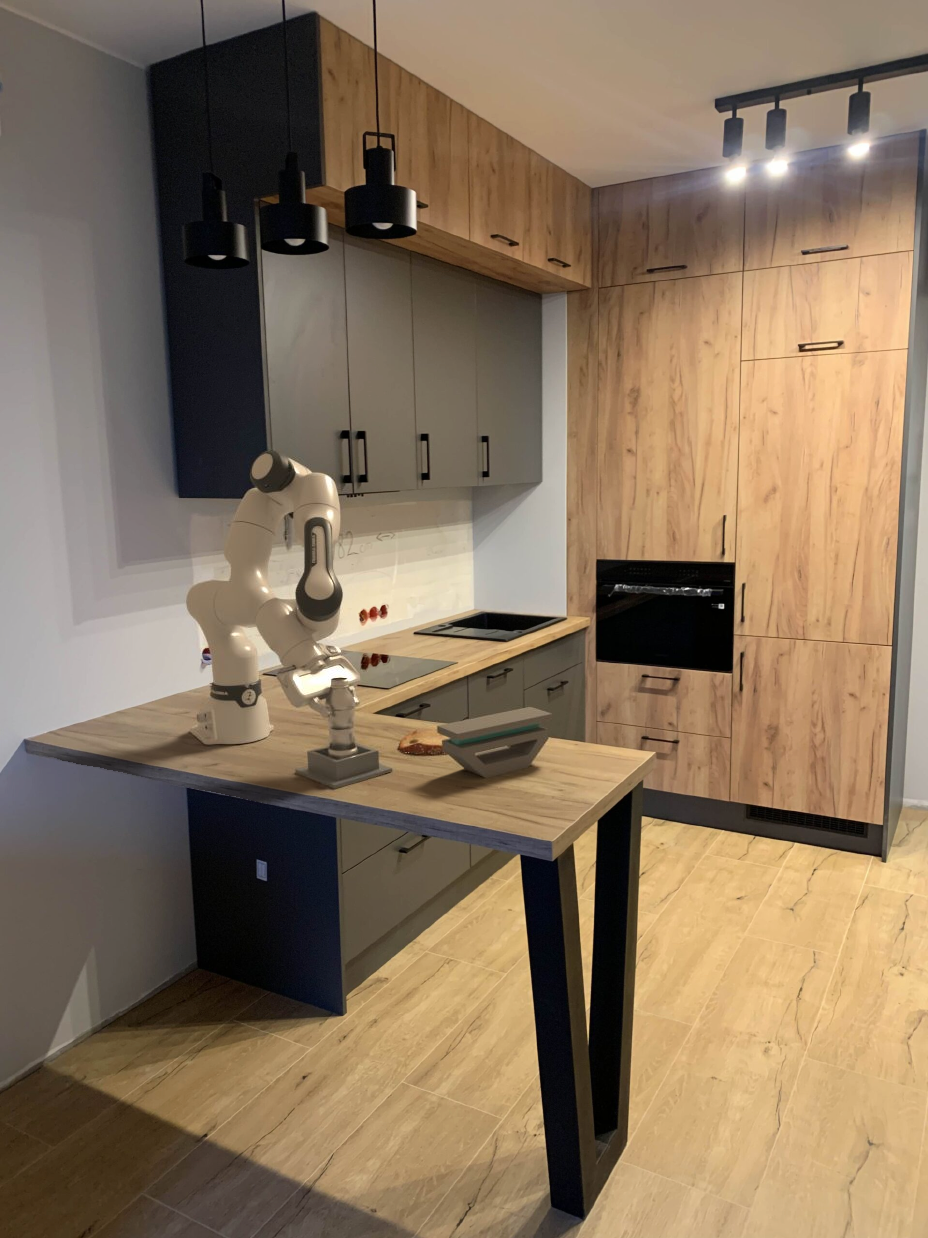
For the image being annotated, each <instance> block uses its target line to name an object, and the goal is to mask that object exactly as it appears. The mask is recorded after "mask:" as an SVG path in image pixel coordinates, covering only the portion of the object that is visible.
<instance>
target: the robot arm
mask: <svg viewBox="0 0 928 1238" xmlns="http://www.w3.org/2000/svg"><path fill="white" fill-rule="evenodd" d="M249 478H250V481H251V483H252V484H253V486H254V487H253V488H251V489H248V490H247V491H246V493H245V494H244V496H243V498H242V499H241V502H240V503H239V504H238V508H237V510H236V512H235V515H234V518H233V520H232V523H231V525H230V530H229V532H228V536H227V538H226V541H225V545H224V548H223V555H224V558H225V560H226V561H227V562H228V563H229V565H230V575H229V579H228V580H220V579H219V580H218V579H212V580H211V579H210V580H205V581H202V582H197V583H196V584H194V585H192V587H191V588H190V589H189V591H188V593H187V594H186V603H185V605H186V610H187V612H188V614H189V615H190V616H191V617H192V619H194V620H195V621H196V622H197V624H198V625H199V627H200V628H201V631H202V633H203V635H204V637H205V640H206V643H207V645H208V646H207V647H208V649H209V654H210V661H211V671H212V682H209V685H210V686H209V688H210V689H209V690H210V694H209V696H210V697H209V698H208V699H207V701H206V702H205V703H204V704H203V705H201V707H200V708H199V711H198V713H197V714H196V719H197V722H198V724H195V725H192V726H191V727H190V729H189V732H190V733H191V734H192V735H193V736H195V737H196V738H197V739H198V740H199V741H200V742H201V743H203V744H204V745H237V744H238V745H239V744H248V743H252V742H257V741H259V740H263V739H266V738H267V737H268V736H269V735H270V732H272V731H273V730H275V727H274V726H275V725H273V724H271V723H270V717H269V710H268V704H267V700H266V698H265V697H263V696H262V695H261V694H263V693H262V692H263V691H262V690H263V689H262V687H263V686H262V679H261V678H260V673H259V672H260V671H259V657H258V655H259V653H258V650H257V647H256V645H255V644H254V643H253V642H252V641H251V640H250V639H249V638H248V637H247V634H246V633H245V631H244V628H251V629H252V628H256V629H257V631H258V633H259V634H260V636H261V637H262V639H263V641H264V643H266V645H267V647H268V648H269V649H270V650H271V651H272V652H274V653H275V654H276V655H277V656H278V659H279V662H280V663H281V665H282V668H280V669H278V670H277V672H276V680H277V681H278V682H279V684H280V686H281V689H282V690H283V692H284V694H285V696H286V698H287V700H288V701H289V703H290V704H291V705H292V706H293V707H295V708H298V709H299V708H302V707H305V706H309V708H310V709H312V710H313V711H315V712H317V713H319V715H321V717H322V718H323V719H327V717H330V715H331V714H332V711H331V710H330V708H329V707H328V706H327V707H325V704H323V703H321V702H320V701H322V700H326V698H327V696H328V695H329V693H330V692H331V690H332V688H330V685H331V681H330V680H331V679H332V678H336V677H346V678H348V684H349V687H348V688H347V689H348V691H349V692H350V693H351V694H352V696H353V697H354V699H355V708H357V707H358V706H359V705H360V704H361V700H359V698H358V696H357V693H356V689H355V688H356V687H357V686H358V685H359V683H361V676H360V673H359V671H357V669H356V668H355V667H354V665H353V664H352V663H351V662H350V661H349V659H347V658H346V657H345V656H343V655H341V654H342V650H341V648H340V647H339V646H338V645H330V644H323V643H320V642H319V641H321V640H323V639H325V638H328V637H329V636H331V635H332V634H334V633H335V631H337V628H338V626H339V623H340V622H339V621H340V615H341V605H342V601H343V596H344V592H343V588H342V585H341V583H340V581H339V579H338V577H337V576H336V574H335V570H334V557H333V555H334V554H333V550H334V549H333V547H335V545H337V543H338V542H339V537H340V531H341V505H340V498H339V492H338V488H337V485H336V483H335V481H334V479H332V477H331V476H329V475H327V474H326V473H324V472H323V473H322V472H312V471H311V470H310V469H309V468H307V466H305V465H303V464H301V463H299V462H297V461H296V460H294V459H291V458H290V457H288V456H287V455H286V454H284V453H282V452H280V451H277V450H273V449H272V450H271V449H268V450H266V451H263V452H261V453H260V454H259V455H258V456H256V458H255V459H254V461H253V462H252V464H251V467H250V472H249ZM286 515H288V516H289V517H290V518H291V520H293V530H294V535H295V540H296V542H297V544H298V545H300V546H301V547H303V549H304V550H303V553H304V554H303V557H304V559H303V560H304V564H303V572H302V575H301V577H300V579H299V581H298V582H297V586H296V588H295V592H294V593H295V596H294V597H295V598H292V599H291V598H289V599H288V598H287V599H283V598H278V597H277V596H276V595H275V593H274V590H272V589H271V586H270V583H269V577H268V575H269V573H268V569H269V562H270V558H271V554H272V550H273V547H274V545H275V541H276V537H277V533H278V530H279V526H280V523H281V520H282V519H283V518H284V517H285V516H286Z"/></svg>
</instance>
